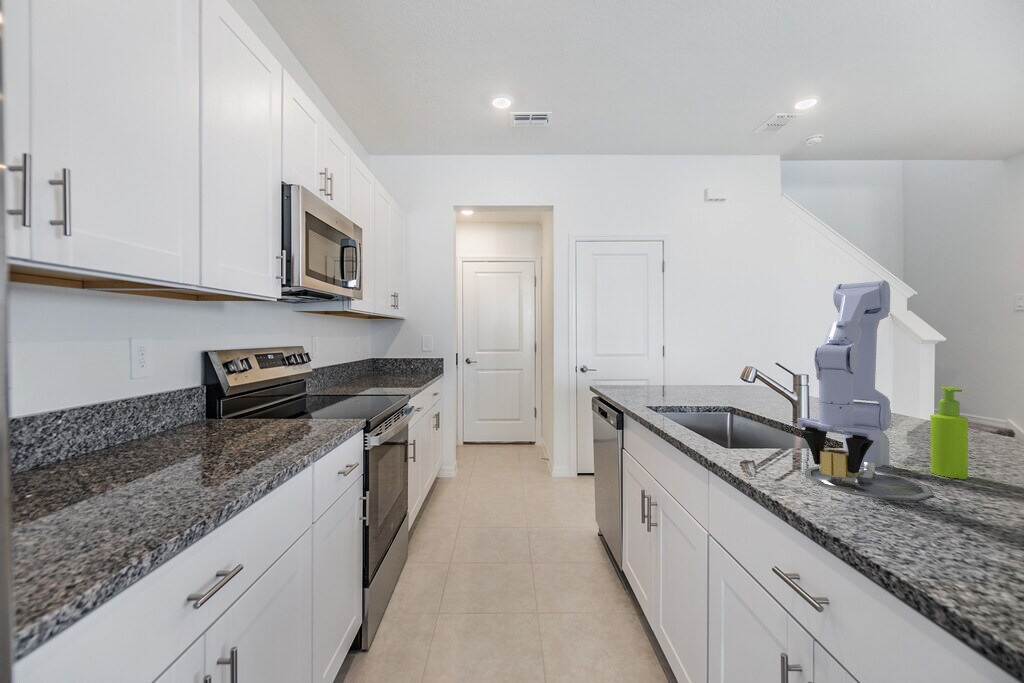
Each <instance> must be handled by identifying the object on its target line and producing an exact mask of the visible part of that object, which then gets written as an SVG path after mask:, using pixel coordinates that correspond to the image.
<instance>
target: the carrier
mask: <svg viewBox="0 0 1024 683" xmlns="http://www.w3.org/2000/svg"><path fill="white" fill-rule="evenodd" d="M804 478H806V479H808V480H810V481H811V482H814V483H815V484H818V485H819V486H822V487H825V488H829V489H832V490H836V491H839V492H843V493H847V494H851V495H857V496H860V497H861V496H863V497H868V498H874V499H882V500H891V501H893V500H894V501H920V500H925V499H928V498H930V497H932V496H933V492H932V491H931V489H930V488H929V487H928V485H926V484H922V483H920V482H917V481H915V480H913V479H910V478H908V477H904V476H900V475H896V474H892V473H887V472H883V471H878V470H876V467H875V463H872V462H864V466H863V468H862V467H860V470H859V472H858V473H856V477H851V478H847V477H846V478H844V477H842V482H841V483H836V482H832V481H831V476H830V475H826V474H822V473H821V472H820V471H819V465H817V466H812V467H808V468H805V471H804Z"/></svg>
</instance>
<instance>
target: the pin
mask: <svg viewBox="0 0 1024 683" xmlns="http://www.w3.org/2000/svg"><path fill="white" fill-rule="evenodd" d="M831 481H832V482H836V483H841V482H842V477H834V476H831Z"/></svg>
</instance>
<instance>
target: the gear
mask: <svg viewBox="0 0 1024 683" xmlns="http://www.w3.org/2000/svg"><path fill="white" fill-rule="evenodd" d="M818 466H819V471H820V472H821V473H822V474H826V475H830V476H834V477H844V478H846V477H847V478H851V477H856V473H850V472H849V453H848V451H845V450H843V449H838V448H826V447H825V448H824V449H819V465H818Z"/></svg>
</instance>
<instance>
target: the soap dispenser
mask: <svg viewBox="0 0 1024 683" xmlns="http://www.w3.org/2000/svg"><path fill="white" fill-rule="evenodd" d="M940 389H941V390H943V395H942V396H943V398H940V399H939V400H938V401H937V414H935V413H934V414H930V417H929V418H930V420H929V421H930V423H929V424H930V426H929V427H930V429H929V430H930V436H929V437H930V445H929V446H930V447H929V448H930V473H931V472H932V473H934V474H933V475H935V474H937V475H936V476H938V475H941V476H940V477H942V476H945V477H944V478H947V477H950V478H949V479H954V478H959V479H958V480H967V479H968V478H969V438H968V436H969V433H968V432H969V428H968V426H969V419H968V418H967V417H965V416H962V415H960V414H961V413H960V410H961V409H960V405H961V404H960V401H958V400H956V399H955V393H956V392H959V393H961V392H963V389H962V388H960V387H959V386H953V385H951V386H949V385H940ZM932 473H931V474H932ZM966 478H967V479H966Z"/></svg>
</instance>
